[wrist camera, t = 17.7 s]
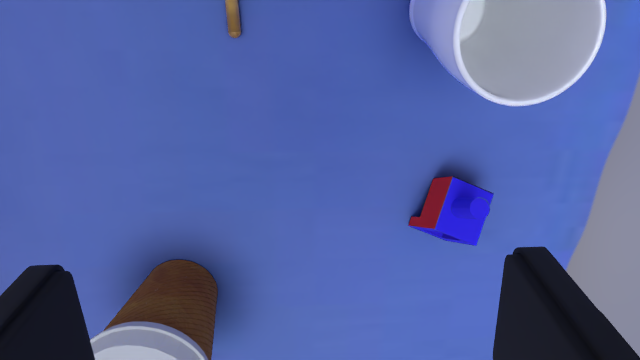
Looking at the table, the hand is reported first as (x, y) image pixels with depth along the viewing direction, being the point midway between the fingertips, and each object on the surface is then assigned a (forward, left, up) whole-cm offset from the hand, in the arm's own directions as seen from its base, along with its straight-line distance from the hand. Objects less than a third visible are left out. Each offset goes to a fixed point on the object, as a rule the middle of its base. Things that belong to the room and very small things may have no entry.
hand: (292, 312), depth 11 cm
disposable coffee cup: (+19, -12, -28) cm, 36 cm away
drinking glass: (-4, +10, -28) cm, 30 cm away
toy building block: (+11, +11, -28) cm, 32 cm away
